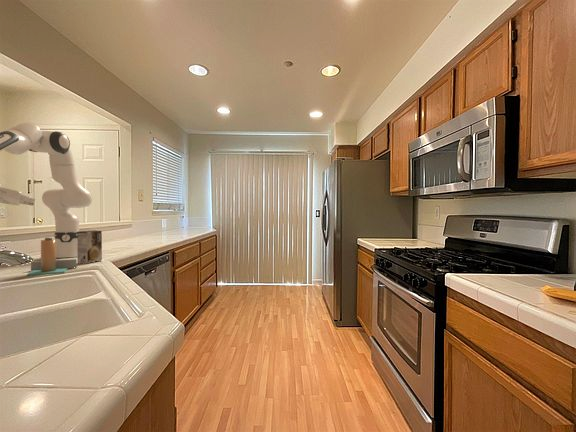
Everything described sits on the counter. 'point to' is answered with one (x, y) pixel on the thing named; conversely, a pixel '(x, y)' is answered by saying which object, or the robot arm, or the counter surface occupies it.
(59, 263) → the acrylic wall
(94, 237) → the coffee box
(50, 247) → the amber bottle
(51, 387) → the counter surface
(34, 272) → the pad
